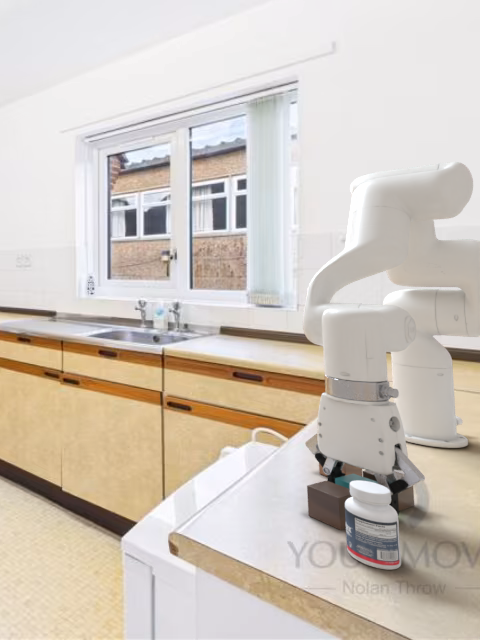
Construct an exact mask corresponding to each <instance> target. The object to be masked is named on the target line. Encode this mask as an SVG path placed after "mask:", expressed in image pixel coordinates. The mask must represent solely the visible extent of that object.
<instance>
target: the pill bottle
mask: <svg viewBox="0 0 480 640" xmlns="http://www.w3.org/2000/svg"><path fill="white" fill-rule="evenodd" d="M350 495H351V496H352V497H350V498H348V499H347V500H346V501H345V519H346V528H345V536H346V539H345V540H346V550H347V552H348V554H349V556H351V558H353V559H355V560H356V561H358V562H359V563H362V564H363V565H366V566H369V567H373V568H376V569H381V570H390V571H391V570H396V569H399V568H401V566H402V557H401V543H400V527H399V526H400V524H399V516H398V514H397V512H396V510H395V509H394V508H393V507H392V506H390V505H389V504H390V503H391V493H390V490H389V489H388V488H386V487H385V486H382V485H380V484H377V483H373V482H369V481H360V480H356V481H351V482H350Z"/></svg>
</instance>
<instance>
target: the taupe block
mask: <svg viewBox="0 0 480 640" xmlns="http://www.w3.org/2000/svg"><path fill="white" fill-rule="evenodd" d="M394 471H395V473H396V476H397V478H398V480H399V479H401V478H402V477H404V476H405V474H404V473H401V472H398V471H397V470H394ZM362 477H365V478H368V479H371V480H374V481H377V480H376V478H375V475H374V473H373V472H371V471H368V470H365V469H364V470H362ZM398 502H399V512H400V511H403V510H406V509H409V508H412V507H415V493H414V485H413V486H411V487H410V488H408V489H406V490H404V491H402V492H401V493H398Z"/></svg>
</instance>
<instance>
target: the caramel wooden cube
mask: <svg viewBox="0 0 480 640" xmlns="http://www.w3.org/2000/svg"><path fill="white" fill-rule="evenodd" d="M318 472H319V475H322V476H324V477H327V474H325V473H324V472H323V467H322V466H321V465H320V463H319V462H318ZM342 473H345V475H350V474H356V475H359V476H362V477H363V469H362V468H359V467H356V466H352V465H349V464H346V463H345V464H344V466H343V469H342Z"/></svg>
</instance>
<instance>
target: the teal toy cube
mask: <svg viewBox="0 0 480 640" xmlns="http://www.w3.org/2000/svg"><path fill="white" fill-rule="evenodd" d="M356 480H360V481H369V482H373V483H377V484H378V482H377V481H374V480H371V479H368V478H365V477H363V475H362V476H359V475H356V474H350V475H346V476H342V477H338V478H335V484H337V485H340V486H343V487H345V488H348V489H350V482H351V481H356Z"/></svg>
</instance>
